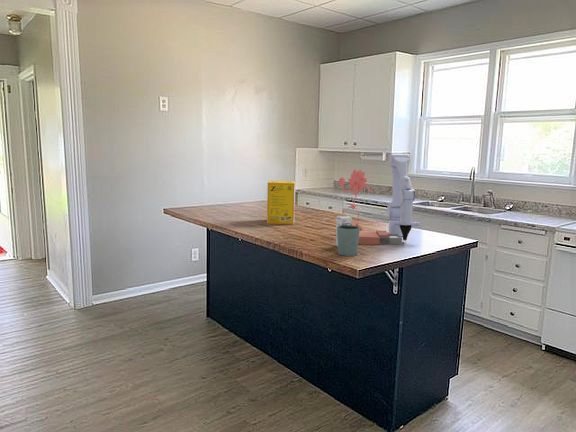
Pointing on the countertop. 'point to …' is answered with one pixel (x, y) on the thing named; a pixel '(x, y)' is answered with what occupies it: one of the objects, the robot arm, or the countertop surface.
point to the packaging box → (280, 202)
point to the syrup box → (342, 223)
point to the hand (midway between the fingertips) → (404, 240)
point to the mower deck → (378, 238)
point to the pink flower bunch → (355, 186)
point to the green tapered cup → (348, 239)
